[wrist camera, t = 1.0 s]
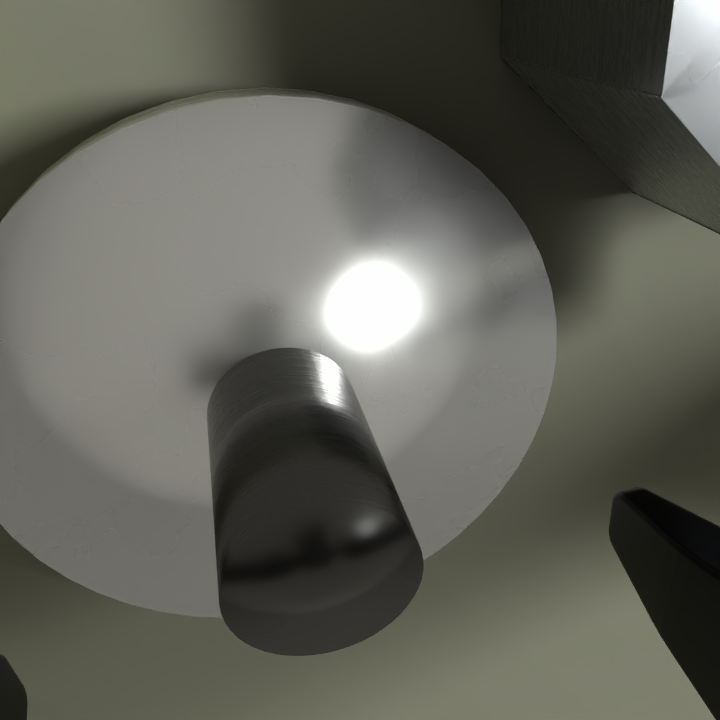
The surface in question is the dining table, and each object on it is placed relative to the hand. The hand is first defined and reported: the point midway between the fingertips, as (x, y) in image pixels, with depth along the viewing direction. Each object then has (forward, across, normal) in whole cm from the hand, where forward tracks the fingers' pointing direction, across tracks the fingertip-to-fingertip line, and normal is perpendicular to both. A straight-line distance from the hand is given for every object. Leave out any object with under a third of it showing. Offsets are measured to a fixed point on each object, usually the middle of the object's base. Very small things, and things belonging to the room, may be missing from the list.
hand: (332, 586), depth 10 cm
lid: (+6, 0, 0) cm, 7 cm away
